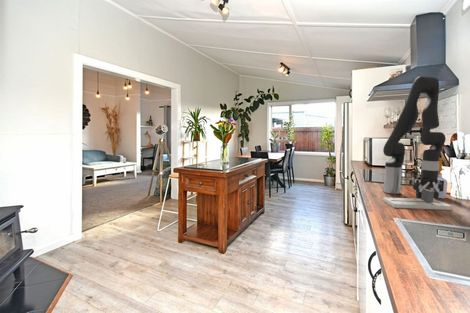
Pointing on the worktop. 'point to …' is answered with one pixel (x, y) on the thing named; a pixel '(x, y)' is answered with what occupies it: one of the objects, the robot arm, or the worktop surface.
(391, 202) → the console board
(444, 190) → the soap bottle
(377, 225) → the worktop surface
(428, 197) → the fader cap
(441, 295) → the worktop surface
